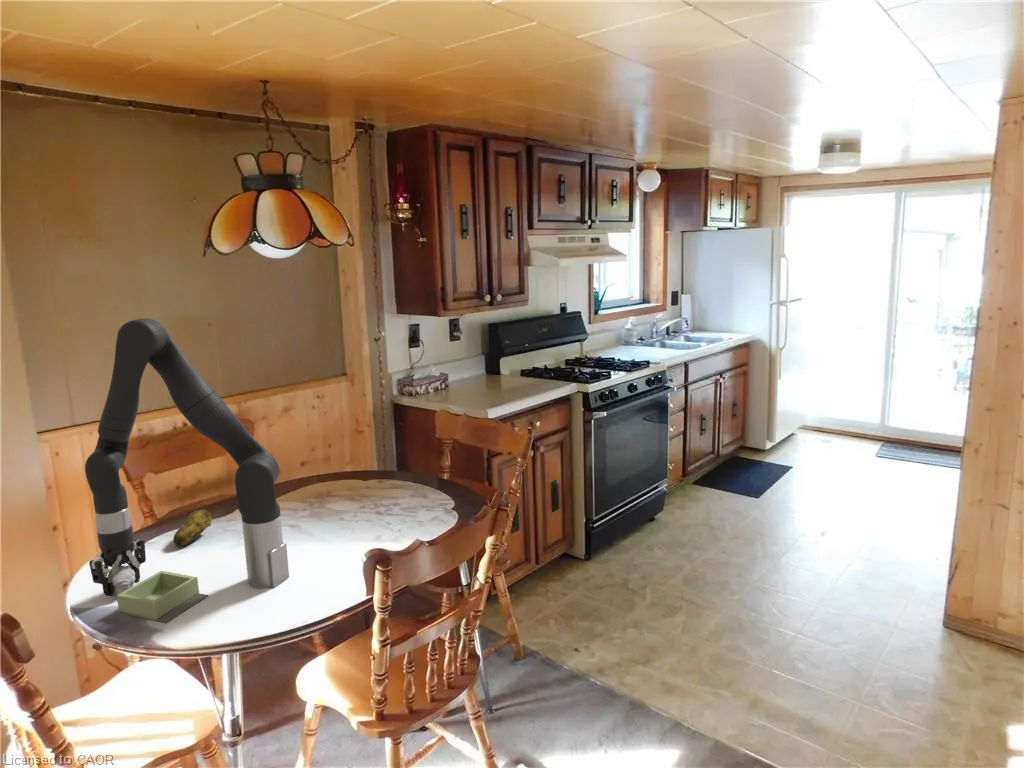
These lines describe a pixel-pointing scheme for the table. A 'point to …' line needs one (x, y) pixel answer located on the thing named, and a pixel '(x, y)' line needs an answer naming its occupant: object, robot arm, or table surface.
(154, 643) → the table surface
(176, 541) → the potato
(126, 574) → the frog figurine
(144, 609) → the tray
